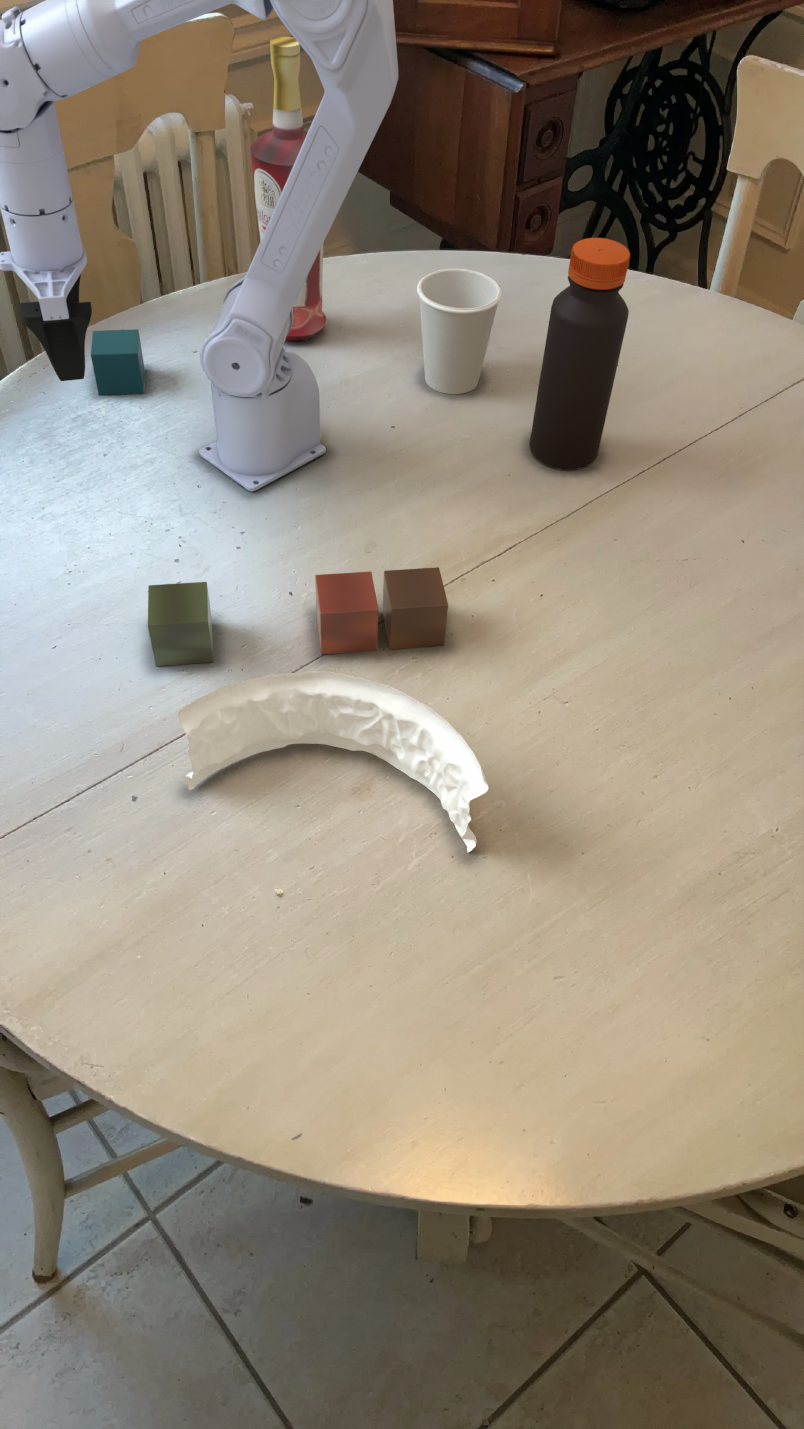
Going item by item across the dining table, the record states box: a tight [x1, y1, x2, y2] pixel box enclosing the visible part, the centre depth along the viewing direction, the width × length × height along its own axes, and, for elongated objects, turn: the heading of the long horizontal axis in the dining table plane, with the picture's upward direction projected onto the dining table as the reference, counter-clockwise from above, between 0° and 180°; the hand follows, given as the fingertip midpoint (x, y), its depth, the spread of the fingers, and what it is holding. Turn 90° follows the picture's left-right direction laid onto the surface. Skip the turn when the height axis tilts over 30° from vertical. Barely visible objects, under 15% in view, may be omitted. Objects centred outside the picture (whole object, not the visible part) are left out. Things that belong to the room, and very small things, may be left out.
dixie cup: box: [416, 268, 503, 395], centre depth 107 cm, size 8×8×10 cm
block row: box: [147, 566, 449, 667], centre depth 84 cm, size 23×4×4 cm, turn 98°
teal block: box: [90, 329, 146, 396], centre depth 106 cm, size 4×4×4 cm
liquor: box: [250, 36, 327, 342], centre depth 105 cm, size 7×7×28 cm
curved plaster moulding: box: [176, 670, 489, 854], centre depth 72 cm, size 11×20×8 cm, turn 97°
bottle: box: [528, 237, 631, 471], centre depth 96 cm, size 7×7×20 cm
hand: (69, 354), depth 94 cm, fingers open, 7 cm apart
